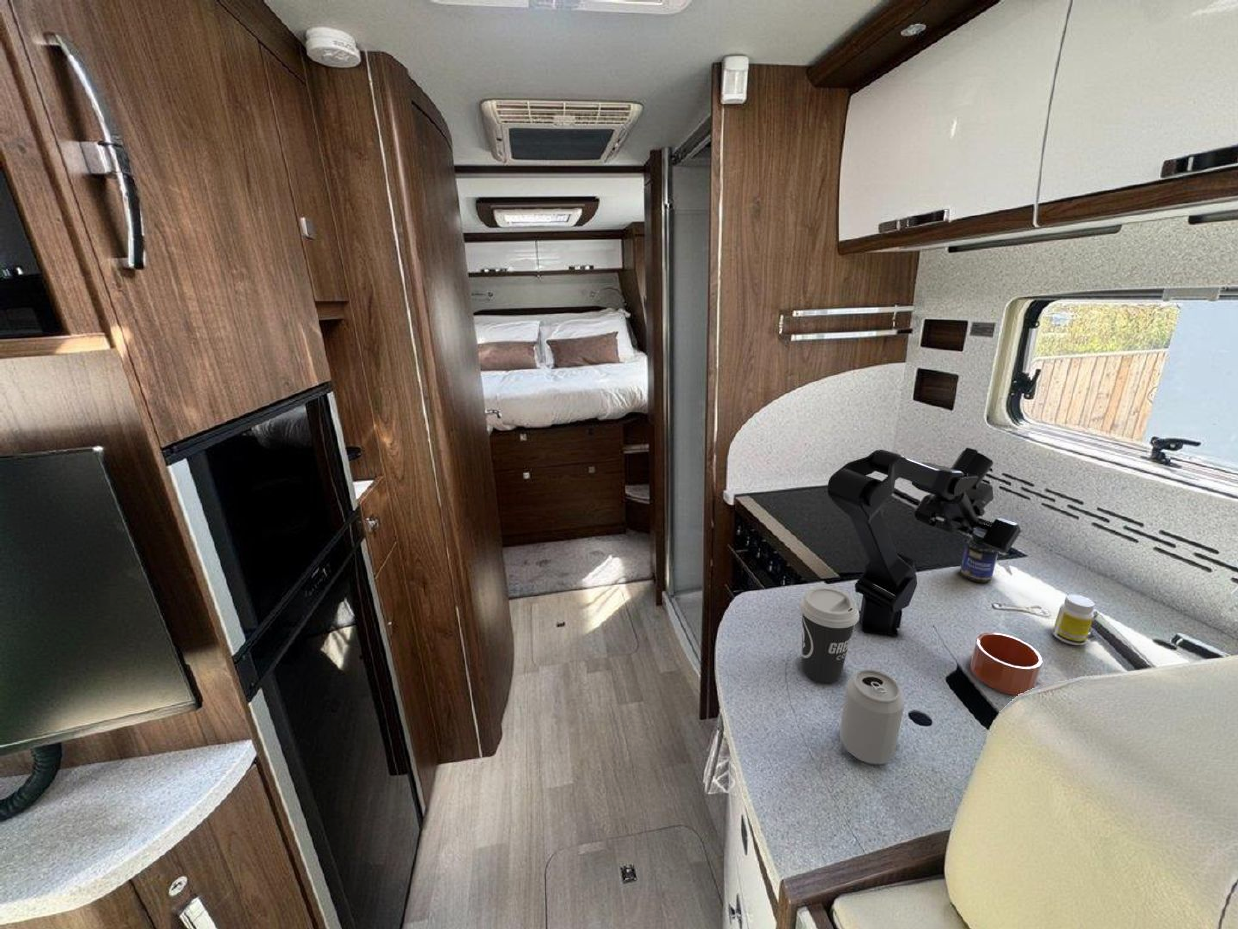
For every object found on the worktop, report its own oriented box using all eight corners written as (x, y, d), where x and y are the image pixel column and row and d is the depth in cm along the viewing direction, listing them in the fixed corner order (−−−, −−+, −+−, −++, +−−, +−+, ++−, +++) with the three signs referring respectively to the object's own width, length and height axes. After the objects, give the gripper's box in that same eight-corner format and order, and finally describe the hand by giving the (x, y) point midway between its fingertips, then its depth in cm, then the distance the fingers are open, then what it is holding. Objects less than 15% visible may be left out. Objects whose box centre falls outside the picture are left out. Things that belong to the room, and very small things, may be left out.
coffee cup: (814, 696, 84) (823, 622, 79) (782, 658, 93) (789, 589, 88) (862, 683, 87) (874, 610, 82) (826, 647, 95) (835, 580, 90)
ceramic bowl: (981, 689, 84) (988, 663, 82) (962, 653, 92) (968, 629, 91) (1044, 699, 82) (1053, 673, 80) (1020, 662, 90) (1027, 637, 88)
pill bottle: (960, 579, 115) (970, 536, 111) (958, 566, 120) (967, 525, 116) (993, 586, 112) (1004, 542, 108) (990, 572, 117) (1000, 530, 113)
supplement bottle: (1091, 647, 93) (1104, 609, 90) (1061, 644, 94) (1073, 607, 91) (1074, 630, 97) (1086, 594, 94) (1046, 628, 98) (1057, 592, 95)
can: (877, 724, 79) (888, 663, 75) (904, 767, 72) (918, 702, 67) (830, 727, 78) (838, 665, 74) (853, 770, 71) (863, 705, 67)
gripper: (1028, 488, 95) (1043, 525, 103) (930, 460, 110) (951, 495, 119) (995, 535, 94) (1014, 569, 102) (902, 501, 110) (925, 533, 118)
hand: (974, 539), depth 110 cm, fingers open, 9 cm apart
